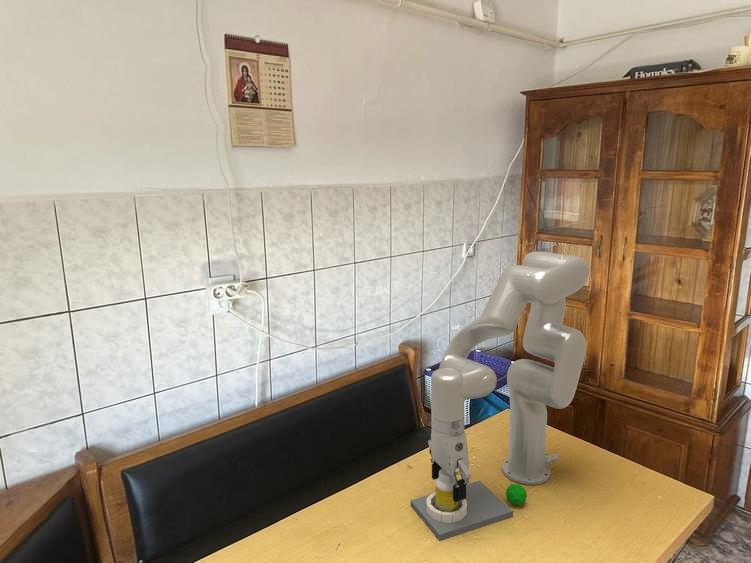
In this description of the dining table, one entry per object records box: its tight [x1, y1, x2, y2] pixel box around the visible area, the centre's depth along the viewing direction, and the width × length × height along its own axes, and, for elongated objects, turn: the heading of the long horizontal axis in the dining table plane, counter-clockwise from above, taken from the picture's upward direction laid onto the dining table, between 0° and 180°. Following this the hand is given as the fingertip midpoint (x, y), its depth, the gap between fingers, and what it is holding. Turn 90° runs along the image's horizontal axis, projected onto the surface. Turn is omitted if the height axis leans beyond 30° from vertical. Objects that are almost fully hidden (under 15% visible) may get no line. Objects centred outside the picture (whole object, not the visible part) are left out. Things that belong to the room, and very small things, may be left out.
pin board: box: [410, 480, 514, 542], centre depth 129 cm, size 20×14×4 cm
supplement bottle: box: [435, 469, 458, 512], centre depth 126 cm, size 5×5×10 cm
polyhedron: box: [505, 483, 528, 506], centre depth 131 cm, size 5×5×5 cm
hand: (448, 488), depth 126 cm, fingers open, 9 cm apart
